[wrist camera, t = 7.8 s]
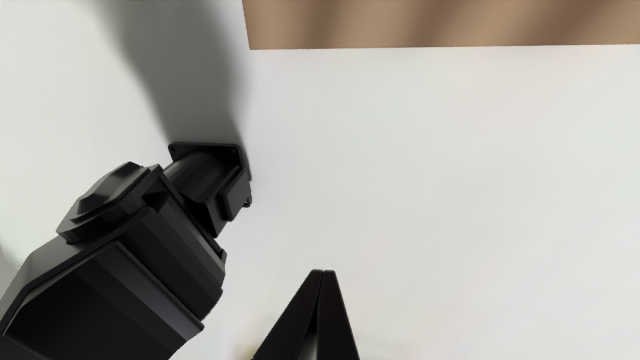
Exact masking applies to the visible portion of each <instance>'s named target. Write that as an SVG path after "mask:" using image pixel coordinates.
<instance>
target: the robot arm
mask: <svg viewBox="0 0 640 360" xmlns="http://www.w3.org/2000/svg"><path fill="white" fill-rule="evenodd" d="M174 147H175V148H176V149H174ZM232 149H234V150H235V151H236V152H234V151H233V150H232ZM168 150H169V152H170V155H171V157H172V160H173V162H172V163H171V164H170V165H168V166H167V167H166V168H165V169H162V167H161V166H160V165H159V164H156V165H153V166H150V167H145V168H144V167H143V166H139V165H137V164H135V163H133V162H127V163H124V164H122V165H121V166H119V167H117V168H116V169H114V170H112V171H111V172H109V173H108V174H106V175H105V176H103V177H102V178H101V179H99V180H98V181H97V182H96V183H95V184H94V185H93V186H92V187H91V188H90V189H89V190H88V191H87V192H86V193H85V194H84V195H82V196H81V197H79V198H78V199H77V200H76V202H75V203H74V205H73V206H72V207H71V209H70V210H69V212H68V213H67V215H66V216H65V218H64V219H63V220H62V222H61V223H60V225H59V226H58V228H57V229H56V232H57V233H58V234H59V236H57V237H55V238H54V239H52V240H51V241H49V242H47V243H46V244H44V245H43V246H41V247H40V248H38V249H36V250H35V251H33V252H32V253H31V254H30V255H29V256H28V257H27V259H26V260H25V262H24V263H23V265H22V267H21V268H20V270H19V271H18V273H17V275H16V276H15V278H14V279H13V281H12V283H11V284H10V286H9V287H8V289H7V291H6V292H5V294H4V295H3V297H2V299H1V300H0V360H169V358H170V357H171V356H172V355H173V354H174V353H175V352H176V351H177V350H178V349H179V348H180V347H182V346H183V345H184V344H185V343H186V342H187V341H188V340H190V339H191V338H193V337H194V336H196V335H197V334H198V333H200V332H201V331H202V330H203V329H204V325H203V324H202V323H201V321H202V320H203V319H204V318H205V317H206V316H207V315H208V314H209V313H210V312H211V310H212V309H213V308H214V307H215V305H216V304H217V302H218V301H219V299H220V297H221V296H222V293H223V289H222V288H221V287H222V284H223V281H224V277H225V262H226V257H227V253H226V252H225V250H224V249H221V247H220V246H219V245H218V243H217V242H216V241H215V240H214V238H217V237H218V236H219V234H220V233H221V231H222V229H223V228H224V226H225V225H226V223H227V222H228V221H229V222H232V221H233V220H234V219H235V217H236V215H237V214H238V212H239V211H240V209H241V208H242V207H245V208H247V207H249V206H250V205H251V203H252V200H251V196H250V193H251V188H250V184H249V179H248V174H247V170H246V169H245V168H244V163H243V159H242V154H241V150H240V148H239V146H237V145H235V144H212V143H186V142H172V143H171V144H169V145H168ZM246 202H247V203H246ZM251 360H360V358H359V354H358V351H357V347H356V344H355V340H354V337H353V333H352V330H351V326H350V323H349V319H348V316H347V312H346V308H345V305H344V301H343V298H342V294H341V291H340V287H339V284H338V280H337V277H336V273H335V271H334V270H324V271H323V270H318V269H313V270H312V271H311V272H310V273H309V275H308V276H307V278H306V279H305V281H304V282H303V284H302V285H301V287H300V288H299V290H298V291H297V292H296V294H295V295H294V297H293V298H292V300H291V301H290V303H289V304H288V306H287V307H286V309H285V310H284V312H283V313H282V315H281V316H280V318H279V319H278V321H277V322H276V324H275V325H274V327H273V328H272V329H271V331H270V332H269V334H268V335H267V337H266V338H265V340H264V341H263V343H262V344H261V346H260V347H259V349H258V350H257V352H256V353H255V355H254V356H253V359H251Z"/></svg>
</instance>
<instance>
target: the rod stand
mask: <svg viewBox="0 0 640 360" xmlns="http://www.w3.org/2000/svg"><path fill="white" fill-rule="evenodd" d="M242 3H243V10H244V16H245V22H246V29H247V35H248V42H249V48H250V50H265V49H334V48H403V47H472V46H540V45H609V44H640V0H242Z"/></svg>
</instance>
